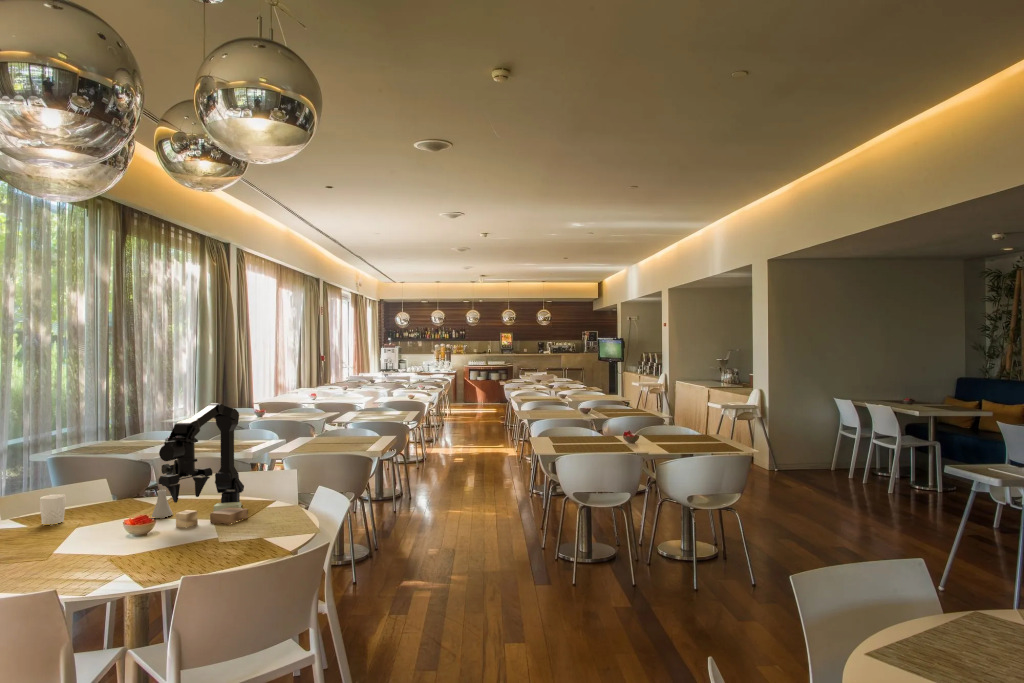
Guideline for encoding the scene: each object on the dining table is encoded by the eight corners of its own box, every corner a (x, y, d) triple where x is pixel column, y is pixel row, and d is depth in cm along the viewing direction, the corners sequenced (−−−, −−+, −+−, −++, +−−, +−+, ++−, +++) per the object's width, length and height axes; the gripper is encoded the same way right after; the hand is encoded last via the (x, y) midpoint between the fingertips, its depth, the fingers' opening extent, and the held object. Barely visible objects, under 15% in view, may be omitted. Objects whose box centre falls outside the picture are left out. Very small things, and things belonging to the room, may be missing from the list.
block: (217, 513, 258) (216, 503, 258) (241, 512, 259) (241, 501, 259) (213, 516, 253) (213, 505, 253) (238, 515, 255) (238, 504, 255)
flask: (176, 514, 256) (176, 488, 256) (165, 519, 249) (164, 492, 249) (159, 514, 257) (158, 488, 257) (147, 519, 250) (146, 492, 250)
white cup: (34, 525, 244) (34, 498, 244) (56, 519, 251) (56, 493, 251) (49, 527, 241) (48, 499, 241) (70, 521, 248) (70, 494, 248)
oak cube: (187, 523, 243) (187, 509, 243) (197, 524, 241) (197, 511, 241) (175, 527, 238) (175, 513, 238) (185, 528, 236) (185, 514, 236)
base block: (228, 517, 251) (228, 507, 251) (247, 519, 248) (247, 508, 248) (210, 523, 243) (210, 512, 243) (229, 525, 240) (229, 514, 240)
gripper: (191, 451, 252) (192, 492, 252) (147, 459, 235) (147, 503, 235) (213, 452, 247) (213, 494, 247) (169, 461, 230) (170, 506, 230)
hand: (186, 499), depth 240 cm, fingers open, 9 cm apart
